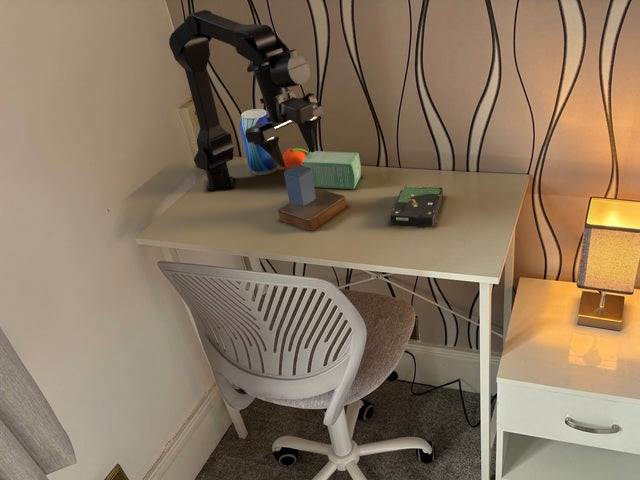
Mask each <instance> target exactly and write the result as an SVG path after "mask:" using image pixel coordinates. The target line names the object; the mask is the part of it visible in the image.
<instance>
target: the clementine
mask: <svg viewBox="0 0 640 480" xmlns="http://www.w3.org/2000/svg"><path fill="white" fill-rule="evenodd" d="M305 152H306V154H309V152H308V150H306V149H304V148H300V147H290V148H288V149H286V150H285V151H284V152H283V154H282V157H283V159H284V163H285V167H282V168H283V169H284V170H285V171H286V170H288V169H290V168H291V167H293V166H295V165H301V166H303V160H304V159H305V158H306V156H307V155H306V154H305Z"/></svg>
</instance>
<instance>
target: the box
mask: <svg viewBox="0 0 640 480" xmlns="http://www.w3.org/2000/svg"><path fill="white" fill-rule="evenodd" d="M303 166H305V167H309V168H311V171H312V176H313V183H314V188H318V189H321V188H322V189H345V190H346V189H347V190H355V189H356V187H357V184H358V182H359V181H360V179H361V177H362V176H361V175H362V166H361V159H360V154H359V152H350V151H348V152H346V151H323V150H319V151H318V150H315V152H310V151H309V152H308V153H307V155H306V158H305V159H304V160H303Z"/></svg>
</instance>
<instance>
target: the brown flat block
mask: <svg viewBox="0 0 640 480" xmlns="http://www.w3.org/2000/svg"><path fill="white" fill-rule="evenodd" d="M314 189H315V196H316V199H314V200H313V201H311V202H310V203H308V204H306V205H305V206H301V205H298V204H294V203H291V202H288V203H286V204H284V205H283V206H281V207H280V208H278V209H277V212H278V216H279V221H280V222H284V223H285V224H288V225H292V226H296V227H298V228H301V229H304V230H307V231H310V232H311V231H314V230H315V229H317V228H318V227H320V226H321V225H322V224H324V223H325V222H327V221H328V220H330V219H332V217H334V216H336V215H337V214H338V213H340V212H341V211H343V210H345V208H347V204H346V196H345V195H342V194H338V193H335V192H331V191H328V190H324V189H321V188H319V187H314Z"/></svg>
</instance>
